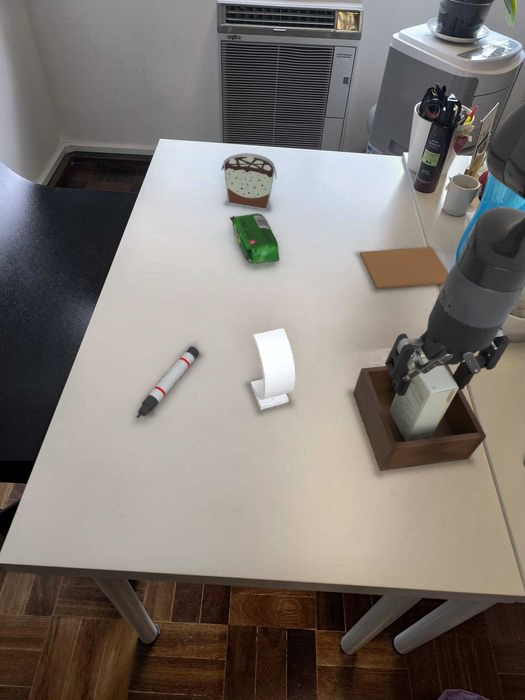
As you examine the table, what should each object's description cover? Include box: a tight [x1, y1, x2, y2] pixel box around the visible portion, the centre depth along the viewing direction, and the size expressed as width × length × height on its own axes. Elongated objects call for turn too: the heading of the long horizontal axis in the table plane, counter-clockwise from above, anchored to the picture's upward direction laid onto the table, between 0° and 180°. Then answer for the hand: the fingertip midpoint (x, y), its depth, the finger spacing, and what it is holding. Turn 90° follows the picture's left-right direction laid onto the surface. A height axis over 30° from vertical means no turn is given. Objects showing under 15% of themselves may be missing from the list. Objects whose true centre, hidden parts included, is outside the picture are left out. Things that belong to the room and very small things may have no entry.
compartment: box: [352, 364, 487, 472], centre depth 70 cm, size 14×14×7 cm
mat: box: [359, 246, 449, 290], centre depth 97 cm, size 16×11×1 cm
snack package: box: [229, 212, 280, 265], centre depth 97 cm, size 7×16×5 cm, turn 17°
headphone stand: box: [250, 327, 296, 411], centre depth 70 cm, size 5×6×12 cm
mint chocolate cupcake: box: [221, 152, 277, 211], centre depth 107 cm, size 12×6×10 cm, turn 77°
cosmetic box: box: [389, 356, 459, 441], centre depth 67 cm, size 6×4×12 cm
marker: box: [135, 346, 200, 419], centre depth 74 cm, size 15×2×2 cm, turn 152°
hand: (427, 387), depth 64 cm, fingers open, 8 cm apart
